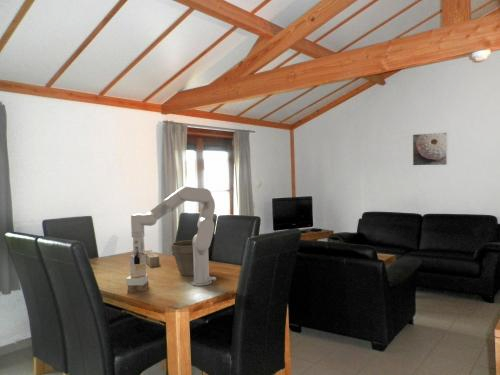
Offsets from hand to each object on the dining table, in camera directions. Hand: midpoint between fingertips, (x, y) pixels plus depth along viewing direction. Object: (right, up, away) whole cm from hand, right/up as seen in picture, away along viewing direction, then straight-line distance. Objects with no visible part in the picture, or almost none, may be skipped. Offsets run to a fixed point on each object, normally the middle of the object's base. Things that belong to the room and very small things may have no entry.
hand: (138, 262), depth 241 cm
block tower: (-12, -15, +75) cm, 78 cm away
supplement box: (0, -9, 0) cm, 9 cm away
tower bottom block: (0, -17, 0) cm, 17 cm away
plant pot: (+25, -15, +38) cm, 48 cm away
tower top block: (-1, -13, 0) cm, 13 cm away
